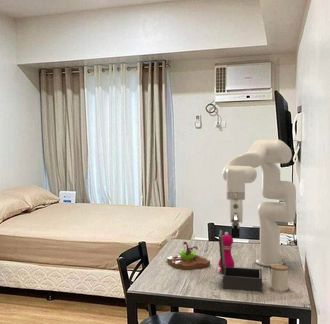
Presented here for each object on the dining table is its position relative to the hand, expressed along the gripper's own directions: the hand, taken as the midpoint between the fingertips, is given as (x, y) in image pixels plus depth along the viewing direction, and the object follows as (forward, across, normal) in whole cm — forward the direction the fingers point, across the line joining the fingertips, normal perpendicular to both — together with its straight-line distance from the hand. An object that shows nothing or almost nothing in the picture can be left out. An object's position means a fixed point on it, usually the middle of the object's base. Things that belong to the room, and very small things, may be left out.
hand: (235, 235), depth 208 cm
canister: (+22, 0, -18) cm, 29 cm away
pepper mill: (+23, +19, +4) cm, 30 cm away
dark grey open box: (+22, 0, -3) cm, 23 cm away
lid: (+8, 0, +5) cm, 9 cm away
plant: (+23, +31, +23) cm, 45 cm away
